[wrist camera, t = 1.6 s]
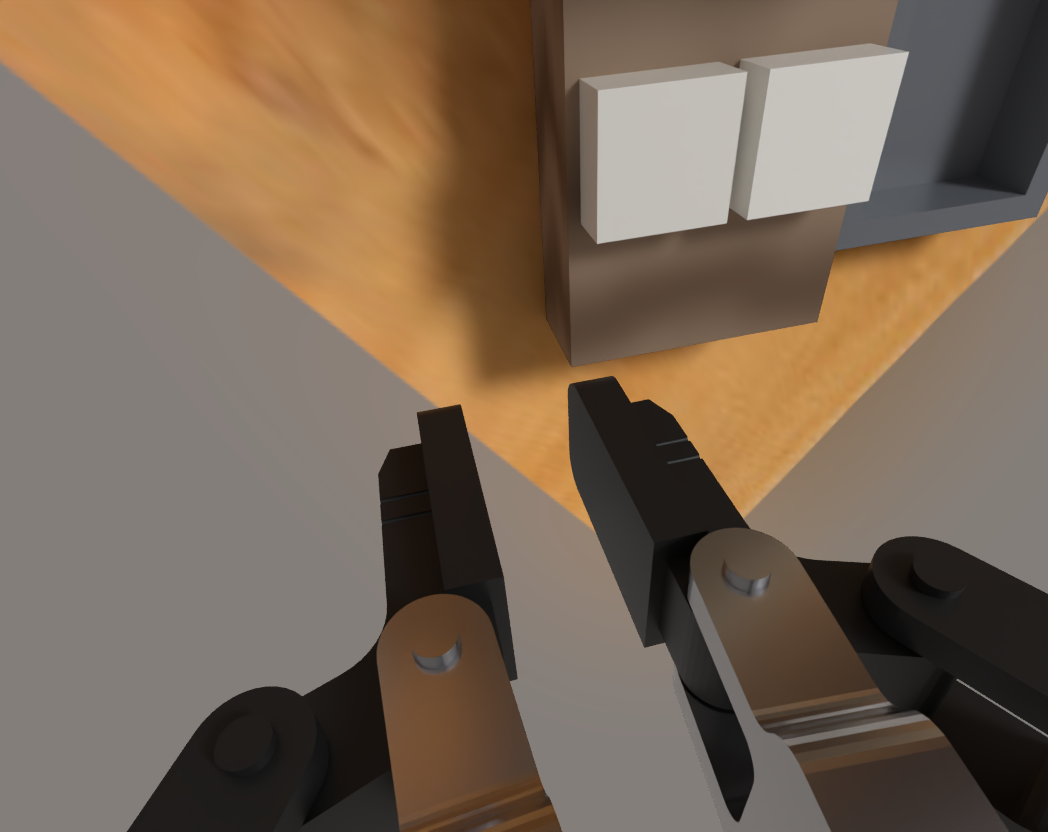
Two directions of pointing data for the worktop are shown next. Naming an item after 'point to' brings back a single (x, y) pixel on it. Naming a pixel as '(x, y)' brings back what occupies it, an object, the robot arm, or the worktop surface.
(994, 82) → the box
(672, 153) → the tile
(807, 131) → the tile
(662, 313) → the brown wooden block
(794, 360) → the worktop surface
